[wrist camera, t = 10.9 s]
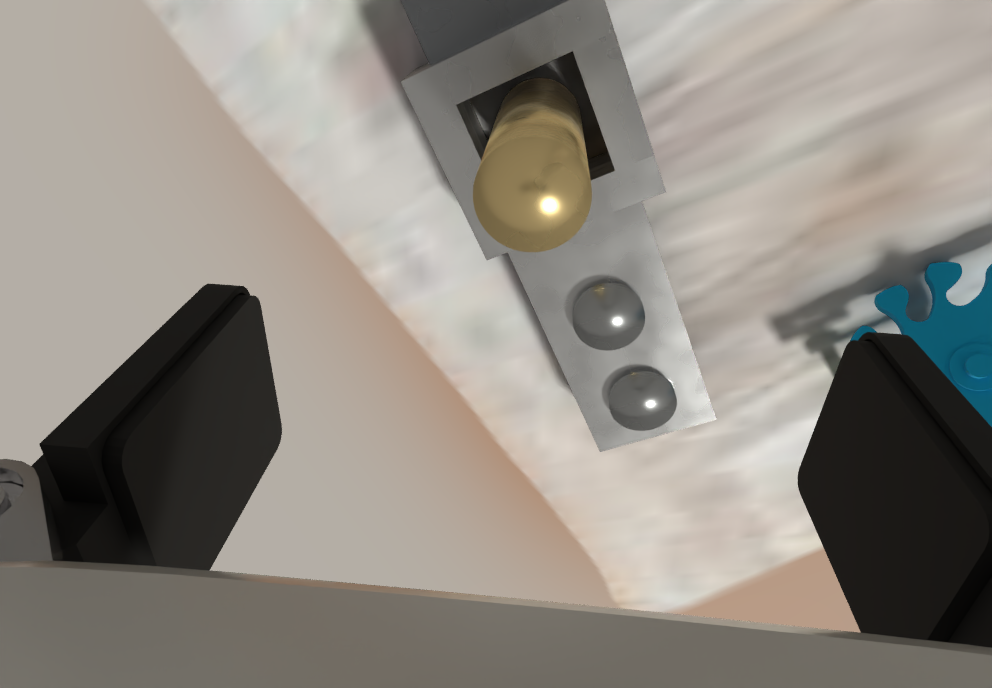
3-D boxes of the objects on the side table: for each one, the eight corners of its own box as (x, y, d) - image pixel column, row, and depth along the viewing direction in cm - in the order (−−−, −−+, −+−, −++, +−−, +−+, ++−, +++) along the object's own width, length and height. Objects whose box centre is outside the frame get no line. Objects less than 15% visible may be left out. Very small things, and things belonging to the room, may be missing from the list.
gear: (1083, 223, 27) (1180, 464, 24) (1038, 262, 32) (1114, 465, 30) (797, 292, 31) (855, 504, 29) (799, 317, 36) (848, 498, 34)
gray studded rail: (251, -279, 22) (204, -315, 19) (462, -430, 20) (446, -497, 17) (580, 421, 36) (582, 463, 33) (723, 379, 34) (739, 420, 31)
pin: (499, 75, 27) (473, 133, 19) (585, 80, 27) (598, 139, 19) (496, 161, 29) (471, 249, 21) (576, 165, 29) (585, 256, 20)
